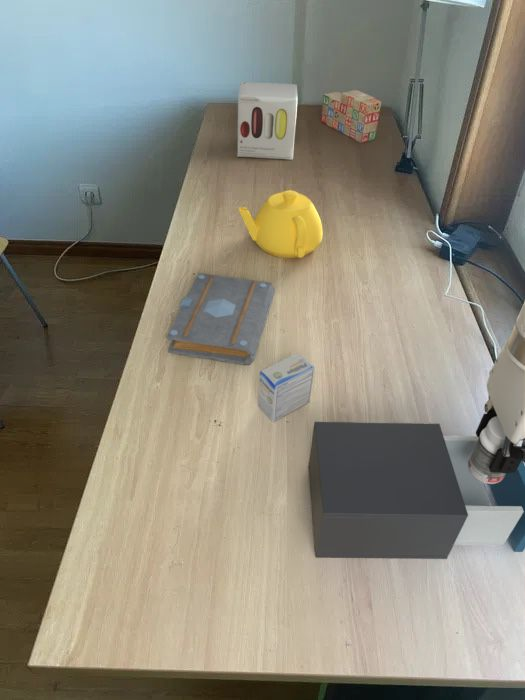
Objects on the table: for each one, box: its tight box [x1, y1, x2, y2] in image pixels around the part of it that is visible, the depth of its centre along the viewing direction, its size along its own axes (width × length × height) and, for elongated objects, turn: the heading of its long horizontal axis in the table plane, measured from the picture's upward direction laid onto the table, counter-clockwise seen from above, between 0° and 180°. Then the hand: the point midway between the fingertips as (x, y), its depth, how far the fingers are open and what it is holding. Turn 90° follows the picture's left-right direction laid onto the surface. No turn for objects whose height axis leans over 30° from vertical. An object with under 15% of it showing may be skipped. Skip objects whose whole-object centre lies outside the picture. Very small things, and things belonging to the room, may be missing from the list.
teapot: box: [238, 189, 323, 259], centre depth 129 cm, size 20×19×13 cm
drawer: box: [443, 435, 525, 553], centre depth 77 cm, size 22×13×9 cm, turn 90°
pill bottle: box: [468, 416, 521, 485], centre depth 71 cm, size 5×5×8 cm
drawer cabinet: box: [307, 421, 468, 560], centre depth 77 cm, size 18×15×11 cm
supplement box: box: [236, 81, 299, 161], centre depth 169 cm, size 17×13×18 cm
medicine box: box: [258, 352, 315, 423], centre depth 92 cm, size 8×4×9 cm, turn 126°
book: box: [165, 272, 276, 366], centre depth 109 cm, size 21×16×5 cm
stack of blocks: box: [320, 89, 383, 144], centre depth 185 cm, size 21×6×12 cm, turn 34°
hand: (494, 451), depth 71 cm, fingers closed on pill bottle, 4 cm apart
